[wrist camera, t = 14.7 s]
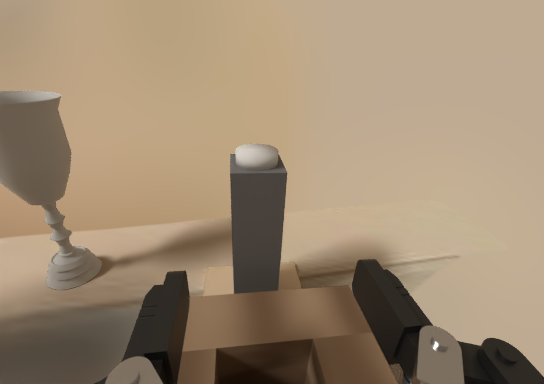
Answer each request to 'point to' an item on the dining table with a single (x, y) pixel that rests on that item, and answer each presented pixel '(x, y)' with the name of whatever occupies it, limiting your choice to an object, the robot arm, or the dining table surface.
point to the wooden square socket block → (281, 340)
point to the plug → (257, 217)
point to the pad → (222, 281)
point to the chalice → (42, 175)
